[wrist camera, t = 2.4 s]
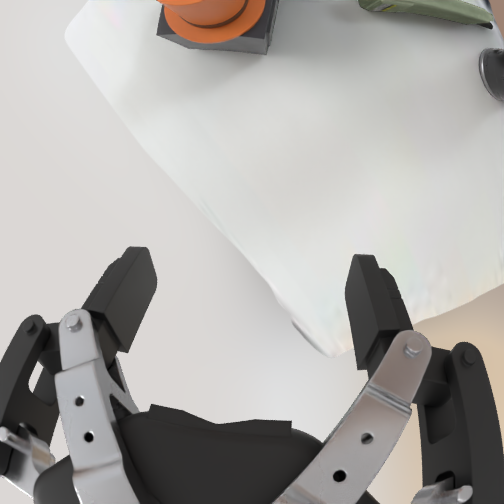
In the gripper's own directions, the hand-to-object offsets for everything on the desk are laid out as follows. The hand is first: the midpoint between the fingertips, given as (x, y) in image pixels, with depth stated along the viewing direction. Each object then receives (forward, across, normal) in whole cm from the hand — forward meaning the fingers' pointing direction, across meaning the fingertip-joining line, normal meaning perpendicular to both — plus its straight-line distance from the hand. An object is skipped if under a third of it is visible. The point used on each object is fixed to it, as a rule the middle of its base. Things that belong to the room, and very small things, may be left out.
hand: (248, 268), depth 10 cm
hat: (+18, -4, +15) cm, 23 cm away
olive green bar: (+31, +24, +23) cm, 45 cm away
